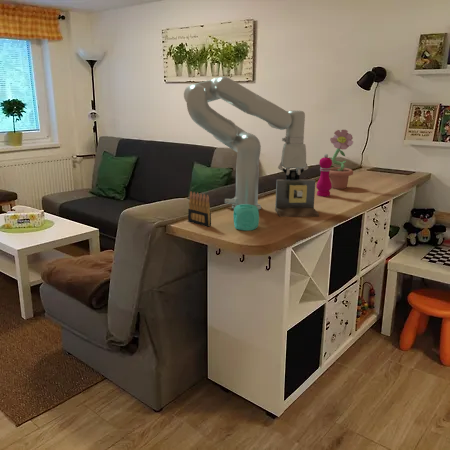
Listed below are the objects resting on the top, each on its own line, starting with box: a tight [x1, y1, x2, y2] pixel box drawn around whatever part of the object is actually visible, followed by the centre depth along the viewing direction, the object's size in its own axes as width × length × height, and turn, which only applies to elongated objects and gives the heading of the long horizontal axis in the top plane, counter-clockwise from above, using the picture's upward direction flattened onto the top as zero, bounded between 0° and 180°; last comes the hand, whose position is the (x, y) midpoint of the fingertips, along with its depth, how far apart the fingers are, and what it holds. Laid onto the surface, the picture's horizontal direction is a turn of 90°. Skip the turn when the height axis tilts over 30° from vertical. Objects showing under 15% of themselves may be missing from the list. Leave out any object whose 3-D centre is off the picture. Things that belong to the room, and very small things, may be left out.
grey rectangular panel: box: [275, 179, 316, 209], centre depth 191 cm, size 16×2×12 cm, turn 93°
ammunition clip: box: [187, 191, 212, 228], centre depth 171 cm, size 11×2×12 cm, turn 47°
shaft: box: [289, 169, 302, 197], centre depth 189 cm, size 3×17×8 cm, turn 3°
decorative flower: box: [329, 129, 354, 190], centre depth 235 cm, size 15×14×30 cm
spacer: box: [289, 185, 307, 203], centre depth 186 cm, size 7×2×7 cm, turn 93°
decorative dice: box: [233, 204, 260, 232], centre depth 167 cm, size 8×8×8 cm
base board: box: [274, 207, 320, 218], centre depth 188 cm, size 16×11×1 cm
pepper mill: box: [315, 153, 333, 197], centre depth 219 cm, size 7×7×20 cm
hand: (292, 183), depth 197 cm, fingers closed on shaft, 2 cm apart
